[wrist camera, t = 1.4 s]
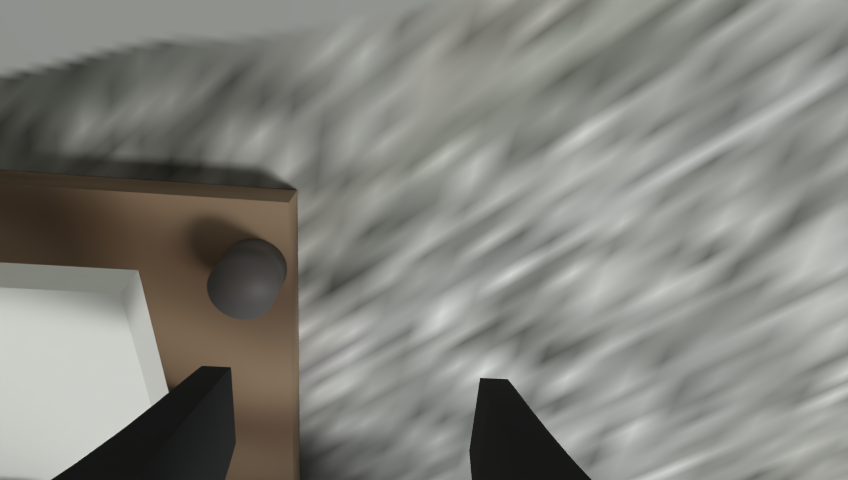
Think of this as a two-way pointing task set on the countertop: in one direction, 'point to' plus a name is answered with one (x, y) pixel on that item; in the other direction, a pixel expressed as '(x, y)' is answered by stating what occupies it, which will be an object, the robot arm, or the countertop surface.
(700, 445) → the countertop surface
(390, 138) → the countertop surface
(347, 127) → the countertop surface
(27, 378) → the levelling deck
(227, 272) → the levelling stand
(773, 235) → the countertop surface
